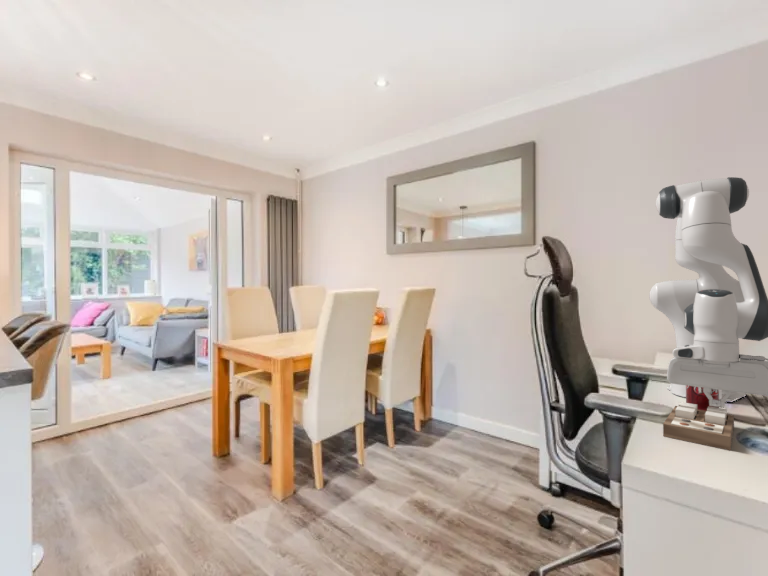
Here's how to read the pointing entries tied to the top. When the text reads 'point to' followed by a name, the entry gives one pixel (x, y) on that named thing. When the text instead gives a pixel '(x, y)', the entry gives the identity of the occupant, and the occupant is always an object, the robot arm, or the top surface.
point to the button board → (699, 430)
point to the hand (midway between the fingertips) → (716, 406)
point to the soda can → (700, 397)
